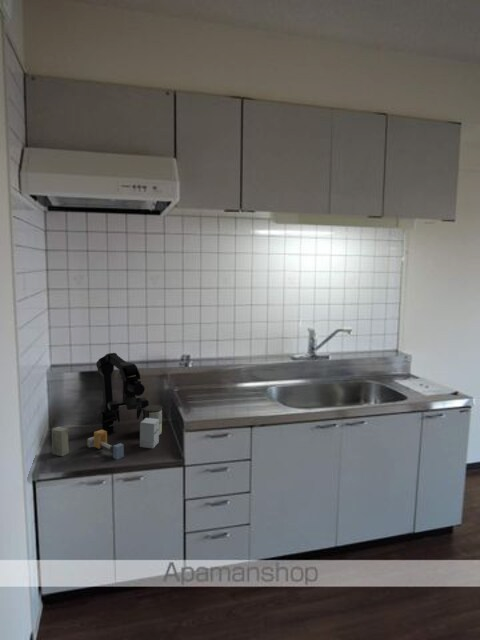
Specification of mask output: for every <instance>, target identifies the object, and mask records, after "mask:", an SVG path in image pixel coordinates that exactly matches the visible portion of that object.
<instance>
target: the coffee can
mask: <svg viewBox="0 0 480 640" xmlns="http://www.w3.org/2000/svg"><path fill="white" fill-rule="evenodd" d="M145 418H153V419H159V436H160V435H161V434H162V432H163V428H162V427H163V425H162V424H163V406H162V405H161V404H157V403H149V406H146V408H144V409H143V410H142V421H143V420H144V419H145Z"/></svg>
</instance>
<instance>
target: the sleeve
mask: <svg viewBox="0 0 480 640" xmlns="http://www.w3.org/2000/svg"><path fill="white" fill-rule="evenodd" d="M93 437H94V446H93V447H95V448H97V449H101V447H102V445H100V439H101V441H103V442H105V443H107V444H108V435H107V431H105V430H101V429H100V430H97V431H94V432H93Z"/></svg>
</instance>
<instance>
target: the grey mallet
mask: <svg viewBox="0 0 480 640" xmlns="http://www.w3.org/2000/svg"><path fill="white" fill-rule="evenodd" d="M86 443H87V447H88V448H93V447H94V436H91V437H88V438H87V442H86ZM100 446H101V447H104V448H106V449H109V452H111V453H112V454H113V455H112V457H113V459H114V460H120V459H122V458H124V457H125V456H124V455H125V452H124V450H125V448H124V447H125V445H124V444H123V443H117V444H112V445H111V444H109V443H108V442H107V443H105V442H103V441H101V438H100Z"/></svg>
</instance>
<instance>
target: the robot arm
mask: <svg viewBox="0 0 480 640" xmlns="http://www.w3.org/2000/svg"><path fill="white" fill-rule="evenodd" d="M96 367H97V372H98V373H99V374H100V377H101V385H102V399H103V400H102V401H103V403H102V405H101V407H100V413H99V414H98V416H97V422H98V423H99V424H100V426H101V429H100V430H105V431H107V436H108V435H112V434H115V433H116V432H117V430H115V427H114V425H115V424H114V422H115V421H117V422H118V423H120V422H121V421H120V408H121V407H123V408H124V407H126V408H127V410H128V411H132V410H136V419H137V420H139V418H140V416H141V413H143V409H144V408H146V406H149V404H150V402H149V399H147V398H146V397H139V396H142V395H143V394H144V393H145V390H146V389H145V386H144V384H143V383H142V381H140V380H141V379H142V378H141V373H140V371H139V369H138V366H137V365H136V364H134V363H133V362H127V361H125V360H124V359H123V358H121V357H120V356H119V355H118V354H117V353H116V352H110V353H106V354H105V355H104V356H102V357H101V358H98V360H97V361H96ZM115 368H117V369H118V371H119V375H120V376H121V378H120V379H121V380H122V390H121V393H122V396H121V397H122V399H121V402H118V401H117V400H114V398H113V385H112V381H113V380H112V374H113V372H114V369H115Z"/></svg>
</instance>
